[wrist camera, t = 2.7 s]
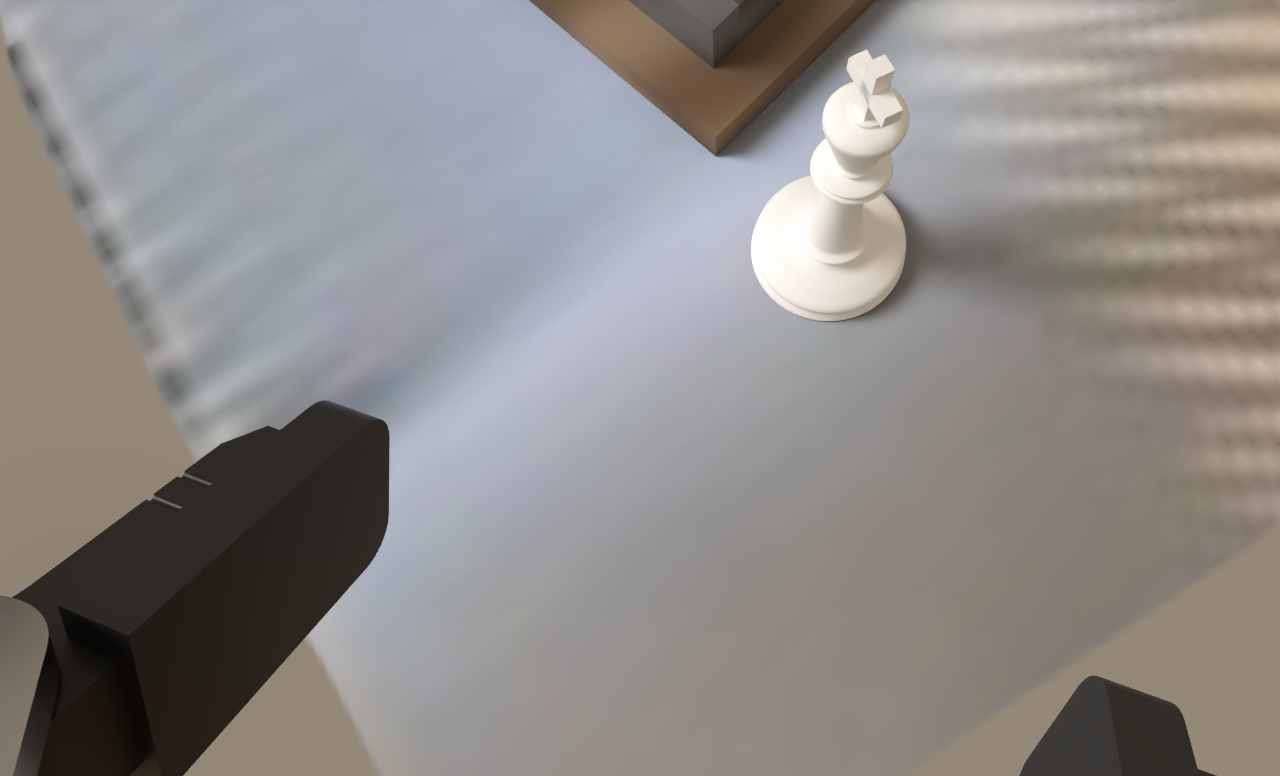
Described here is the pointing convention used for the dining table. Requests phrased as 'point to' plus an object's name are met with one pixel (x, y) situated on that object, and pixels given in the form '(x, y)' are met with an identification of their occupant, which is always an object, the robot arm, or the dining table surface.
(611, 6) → the walnut stand
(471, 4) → the dining table surface
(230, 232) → the dining table surface
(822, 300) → the chess piece
